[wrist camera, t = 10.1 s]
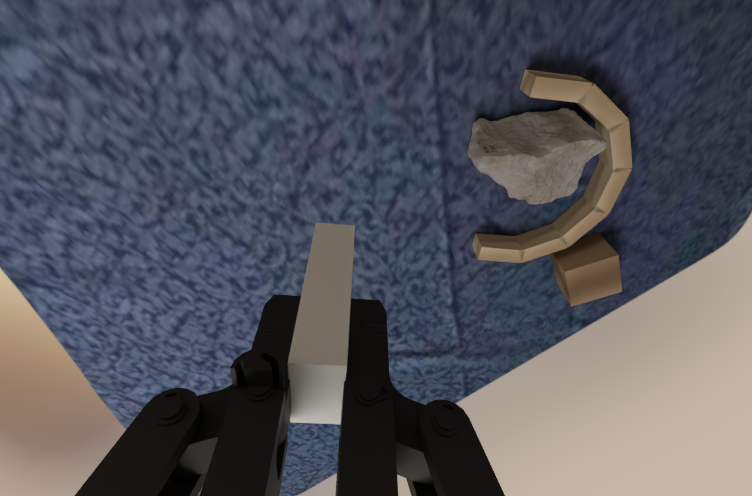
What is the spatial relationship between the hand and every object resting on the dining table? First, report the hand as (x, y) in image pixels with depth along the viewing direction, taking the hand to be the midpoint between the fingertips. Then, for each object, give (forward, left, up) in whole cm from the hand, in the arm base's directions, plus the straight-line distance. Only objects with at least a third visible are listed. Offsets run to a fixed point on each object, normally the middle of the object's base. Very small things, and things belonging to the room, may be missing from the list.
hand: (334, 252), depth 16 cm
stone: (+2, +15, -21) cm, 26 cm away
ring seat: (+4, +19, -21) cm, 28 cm away
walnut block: (+13, +25, -21) cm, 35 cm away
